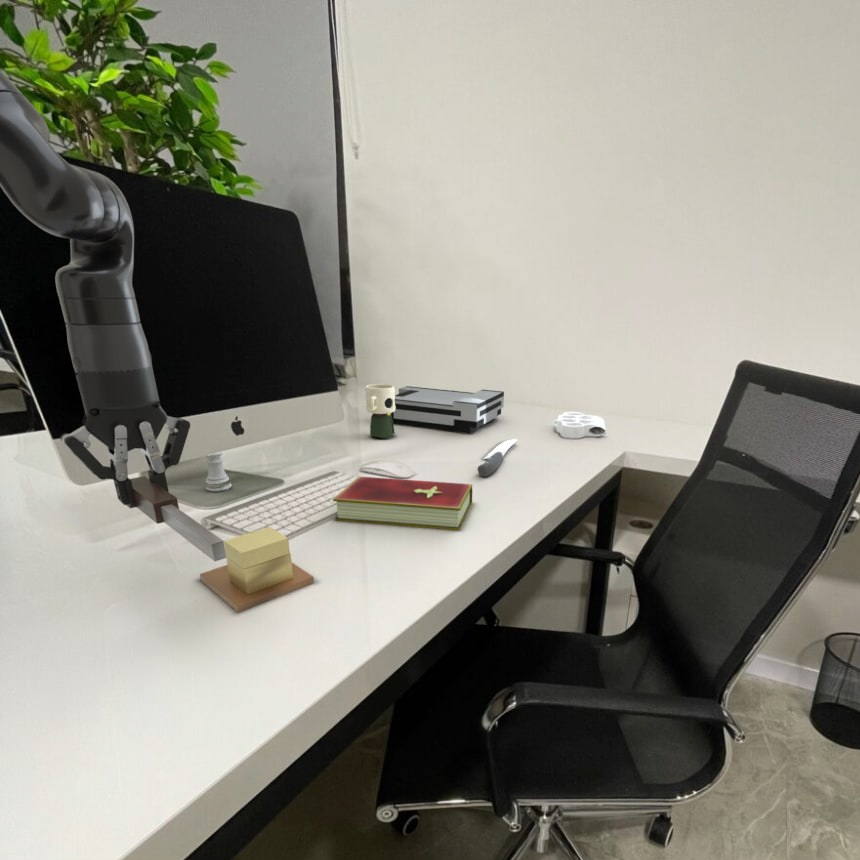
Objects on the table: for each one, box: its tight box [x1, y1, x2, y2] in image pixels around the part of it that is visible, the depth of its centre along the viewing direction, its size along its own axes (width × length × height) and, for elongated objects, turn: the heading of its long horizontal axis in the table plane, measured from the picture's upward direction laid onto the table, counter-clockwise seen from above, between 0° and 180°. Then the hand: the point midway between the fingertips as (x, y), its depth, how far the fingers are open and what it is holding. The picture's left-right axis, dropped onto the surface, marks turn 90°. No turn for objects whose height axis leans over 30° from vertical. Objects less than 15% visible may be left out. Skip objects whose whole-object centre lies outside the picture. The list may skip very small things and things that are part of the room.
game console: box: [391, 385, 505, 434], centre depth 158 cm, size 21×32×8 cm, turn 70°
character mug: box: [365, 383, 396, 439], centre depth 139 cm, size 11×7×13 cm, turn 167°
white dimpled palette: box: [551, 411, 607, 440], centre depth 153 cm, size 3×18×15 cm
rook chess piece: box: [205, 451, 233, 493], centre depth 102 cm, size 4×4×8 cm
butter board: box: [199, 553, 315, 613], centre depth 71 cm, size 10×11×4 cm
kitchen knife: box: [477, 439, 518, 478], centre depth 127 cm, size 29×3×5 cm
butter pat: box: [223, 526, 291, 569], centre depth 69 cm, size 6×5×2 cm
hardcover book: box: [332, 476, 473, 532], centre depth 95 cm, size 12×21×4 cm, turn 83°
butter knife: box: [129, 475, 226, 562], centre depth 64 cm, size 3×25×3 cm, turn 48°
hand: (145, 502), depth 70 cm, fingers closed on butter knife, 2 cm apart
